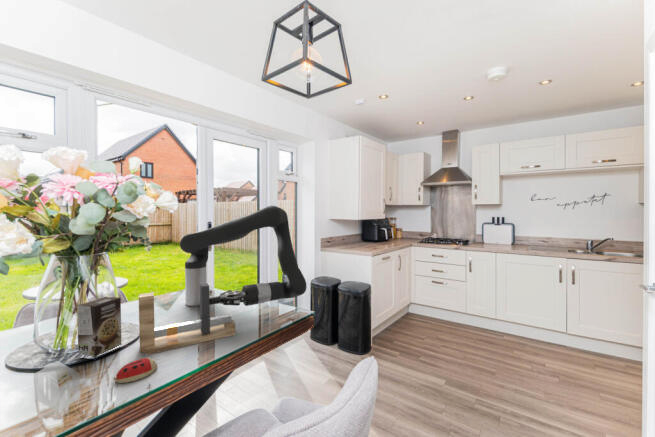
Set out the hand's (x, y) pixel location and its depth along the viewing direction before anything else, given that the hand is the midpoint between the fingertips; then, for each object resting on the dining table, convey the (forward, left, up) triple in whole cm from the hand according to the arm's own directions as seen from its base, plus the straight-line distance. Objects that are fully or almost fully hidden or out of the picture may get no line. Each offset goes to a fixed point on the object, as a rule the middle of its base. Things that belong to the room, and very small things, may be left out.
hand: (208, 301), depth 102 cm
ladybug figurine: (+12, -23, -13) cm, 29 cm away
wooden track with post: (-1, -5, -12) cm, 13 cm away
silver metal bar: (-1, -5, -9) cm, 10 cm away
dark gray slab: (0, -1, -10) cm, 10 cm away
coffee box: (-10, -29, -12) cm, 33 cm away
